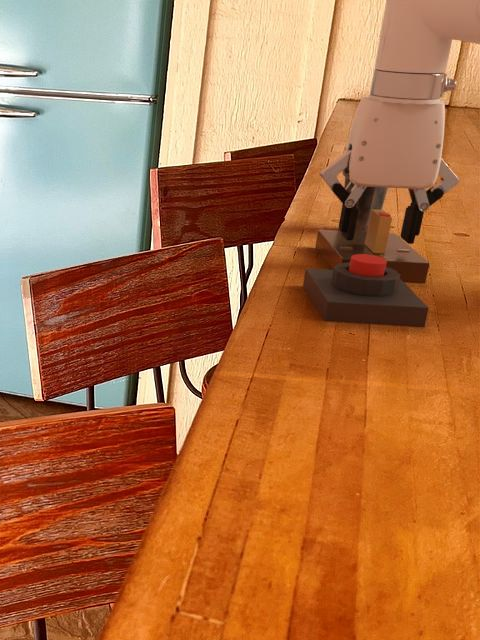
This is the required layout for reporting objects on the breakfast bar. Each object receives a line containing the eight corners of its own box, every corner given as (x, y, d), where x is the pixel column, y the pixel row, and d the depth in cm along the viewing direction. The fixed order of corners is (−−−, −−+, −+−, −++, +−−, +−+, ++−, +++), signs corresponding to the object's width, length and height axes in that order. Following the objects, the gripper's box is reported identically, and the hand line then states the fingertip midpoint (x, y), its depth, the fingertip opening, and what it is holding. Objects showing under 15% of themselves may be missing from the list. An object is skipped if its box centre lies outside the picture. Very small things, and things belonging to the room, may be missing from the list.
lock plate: (392, 251, 118) (395, 232, 117) (425, 283, 105) (430, 261, 104) (314, 247, 119) (318, 228, 118) (338, 278, 106) (342, 257, 105)
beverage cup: (390, 231, 128) (418, 87, 121) (378, 241, 123) (407, 91, 115) (338, 223, 132) (363, 83, 124) (325, 233, 126) (349, 87, 119)
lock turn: (364, 244, 111) (371, 207, 109) (376, 245, 111) (383, 207, 109) (373, 253, 108) (380, 214, 106) (385, 253, 107) (392, 215, 106)
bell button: (378, 270, 97) (381, 255, 96) (387, 280, 94) (391, 264, 93) (344, 268, 98) (347, 253, 97) (352, 278, 94) (355, 262, 94)
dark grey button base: (391, 291, 102) (398, 258, 101) (424, 327, 91) (433, 290, 90) (302, 286, 103) (308, 253, 102) (324, 321, 92) (331, 284, 91)
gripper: (472, 87, 104) (440, 235, 111) (321, 82, 106) (298, 228, 113) (497, 94, 98) (461, 251, 105) (335, 88, 99) (310, 243, 106)
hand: (376, 238), depth 109 cm, fingers open, 6 cm apart
